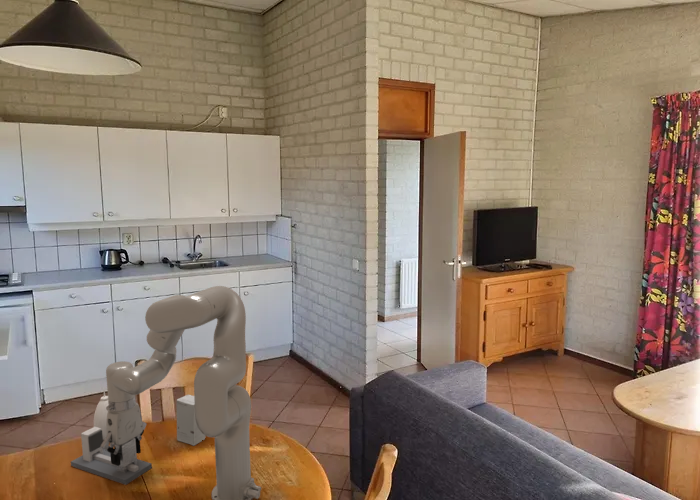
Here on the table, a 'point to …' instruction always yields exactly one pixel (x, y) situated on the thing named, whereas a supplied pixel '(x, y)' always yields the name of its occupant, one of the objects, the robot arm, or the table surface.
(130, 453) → the left finger
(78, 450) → the table surface
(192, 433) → the skincare box
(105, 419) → the sauce bottle
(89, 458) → the rail base
